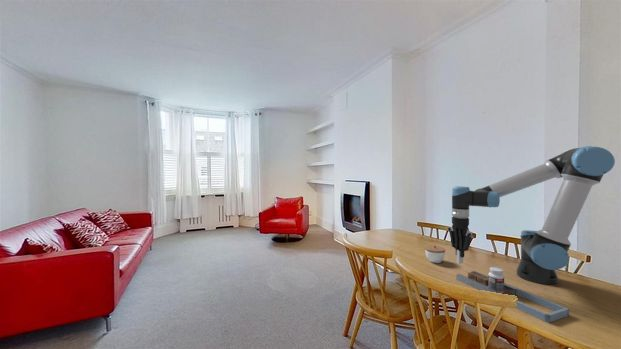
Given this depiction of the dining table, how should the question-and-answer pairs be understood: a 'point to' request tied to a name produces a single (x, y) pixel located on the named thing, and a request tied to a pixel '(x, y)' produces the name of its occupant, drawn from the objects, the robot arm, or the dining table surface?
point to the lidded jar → (435, 253)
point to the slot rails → (482, 286)
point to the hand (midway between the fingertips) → (459, 262)
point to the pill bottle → (496, 279)
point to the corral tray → (558, 310)
